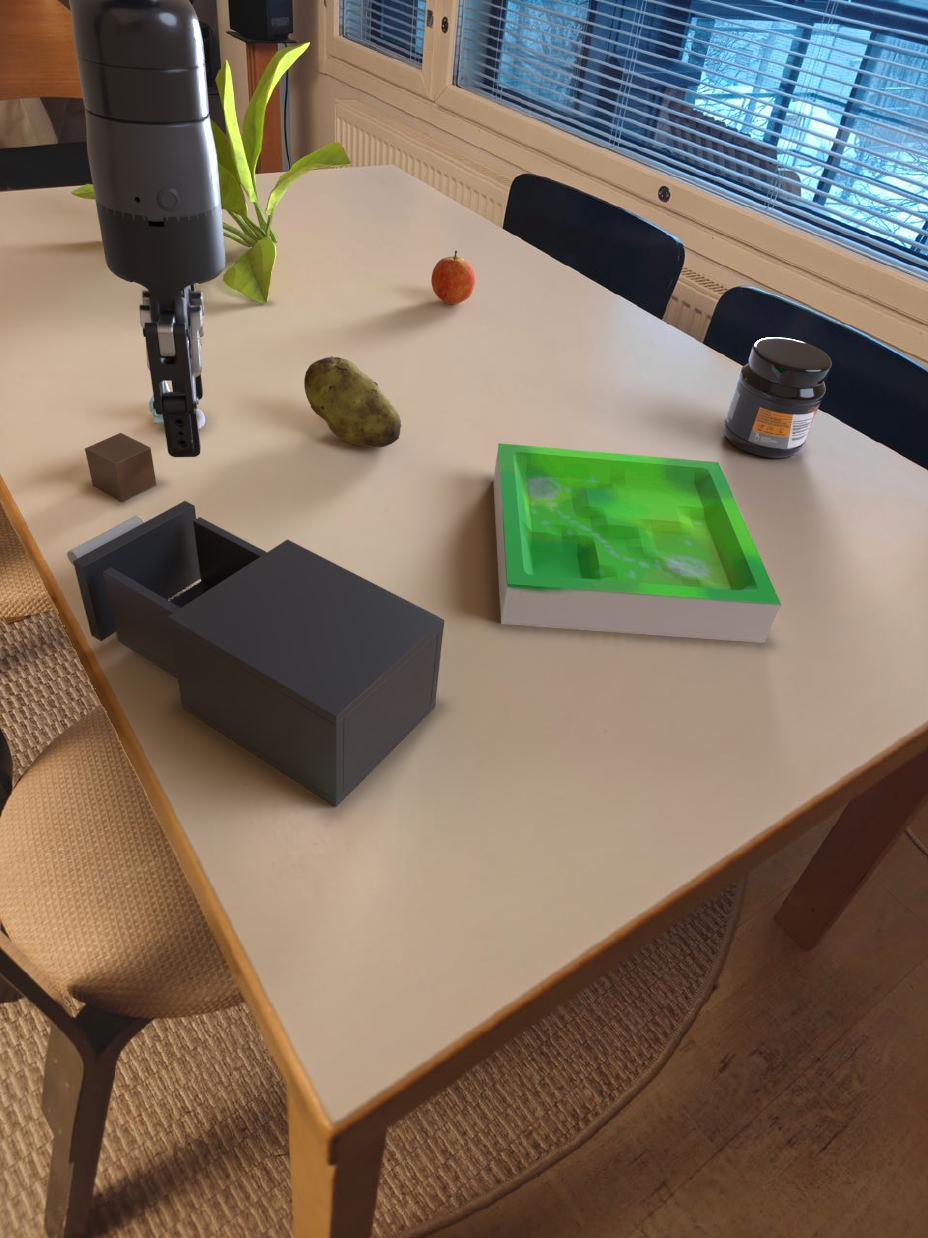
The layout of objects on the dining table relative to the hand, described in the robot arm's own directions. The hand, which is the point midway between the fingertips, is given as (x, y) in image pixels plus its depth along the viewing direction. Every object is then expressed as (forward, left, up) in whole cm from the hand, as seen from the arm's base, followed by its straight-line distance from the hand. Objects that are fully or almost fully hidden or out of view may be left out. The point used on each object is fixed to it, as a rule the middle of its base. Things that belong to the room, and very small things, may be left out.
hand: (187, 425), depth 64 cm
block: (+9, +22, -19) cm, 30 cm away
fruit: (+78, +27, -19) cm, 84 cm away
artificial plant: (+64, +64, -19) cm, 92 cm away
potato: (+34, +12, -19) cm, 40 cm away
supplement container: (+69, -28, -19) cm, 77 cm away
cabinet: (-3, -14, -19) cm, 24 cm away
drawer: (-3, 0, -18) cm, 18 cm away
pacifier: (+22, +28, -19) cm, 40 cm away
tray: (+33, -24, -19) cm, 45 cm away
